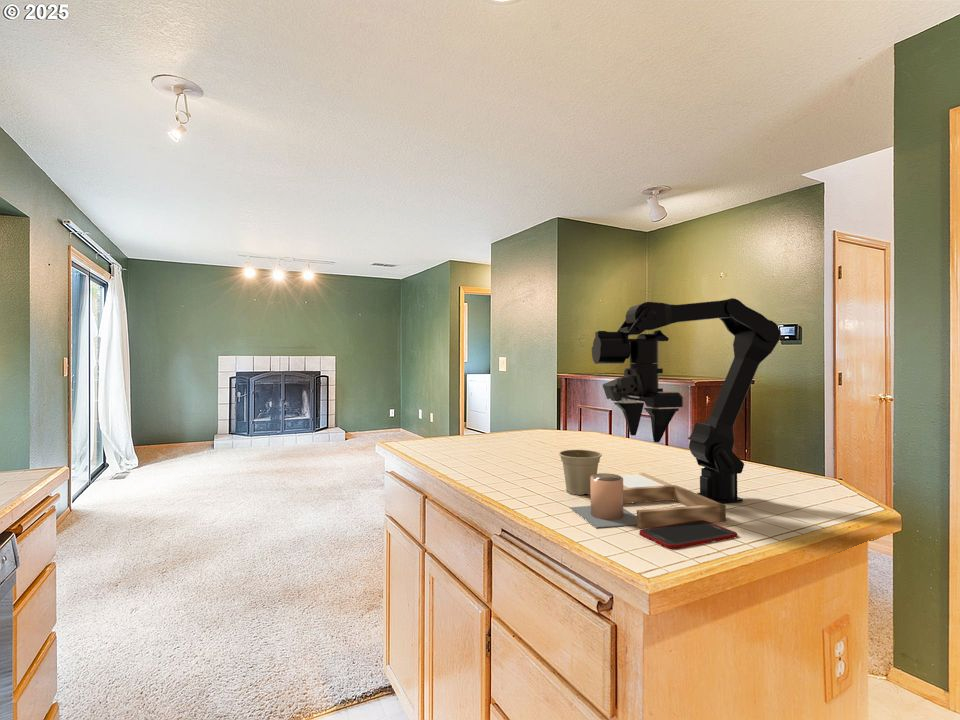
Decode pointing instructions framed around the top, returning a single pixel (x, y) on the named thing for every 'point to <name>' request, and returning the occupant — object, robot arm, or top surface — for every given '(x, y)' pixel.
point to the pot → (607, 496)
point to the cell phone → (687, 534)
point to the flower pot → (579, 469)
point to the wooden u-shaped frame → (693, 510)
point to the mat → (586, 514)
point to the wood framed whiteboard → (641, 481)
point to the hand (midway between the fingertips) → (644, 438)
